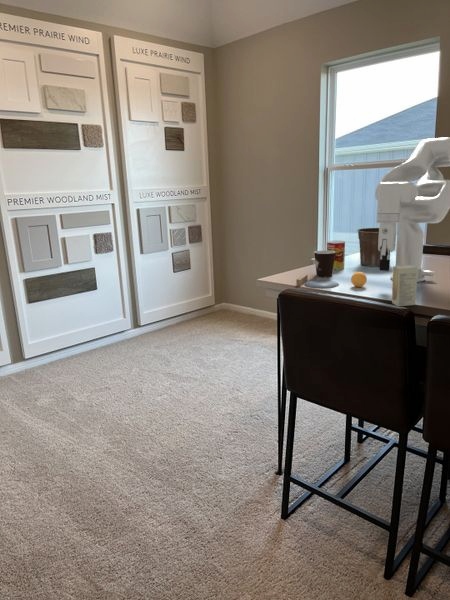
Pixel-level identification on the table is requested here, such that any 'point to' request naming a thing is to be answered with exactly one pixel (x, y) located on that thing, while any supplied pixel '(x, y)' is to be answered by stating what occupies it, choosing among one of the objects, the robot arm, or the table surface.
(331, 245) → the canned food
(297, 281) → the stopper rail
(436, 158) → the robot arm
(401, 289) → the skincare box
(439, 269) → the table surface
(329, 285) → the disc
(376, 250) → the plant pot
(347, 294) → the table surface
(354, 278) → the ball
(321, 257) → the coffee mug
